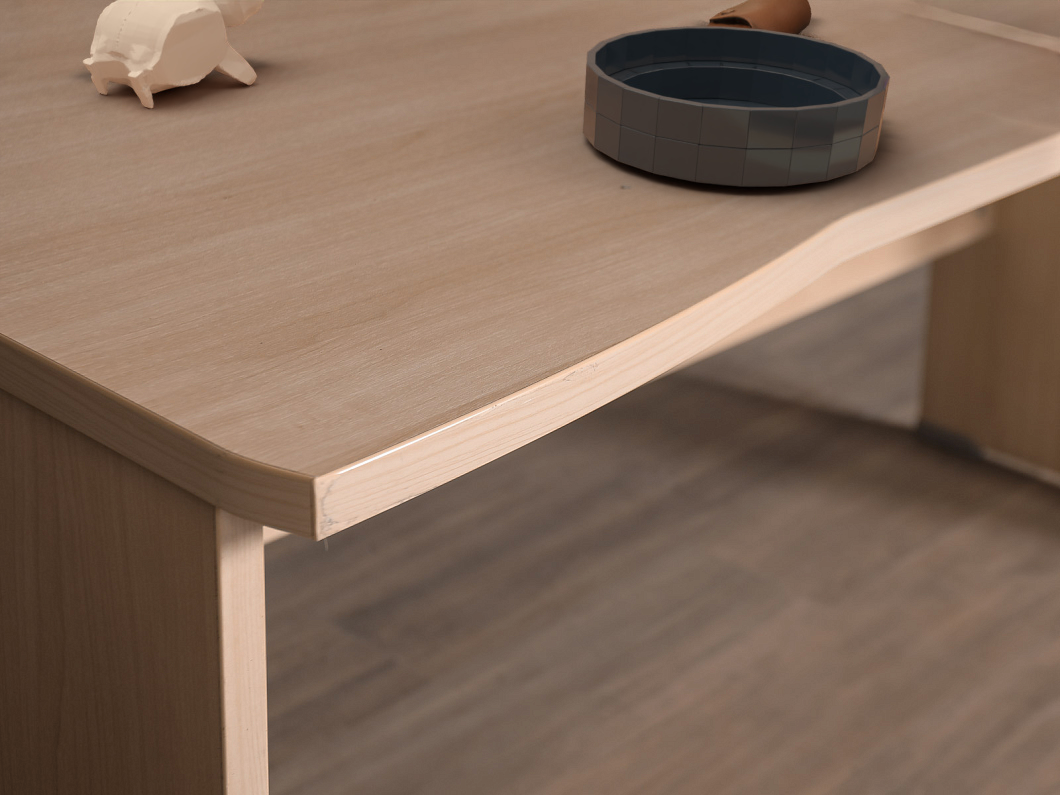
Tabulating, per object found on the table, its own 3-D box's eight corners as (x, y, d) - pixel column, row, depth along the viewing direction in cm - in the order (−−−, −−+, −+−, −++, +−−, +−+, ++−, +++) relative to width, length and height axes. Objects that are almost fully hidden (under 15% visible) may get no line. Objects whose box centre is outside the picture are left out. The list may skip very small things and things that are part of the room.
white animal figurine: (181, 148, 90) (309, 35, 98) (132, 49, 84) (272, -64, 91) (105, 124, 95) (234, 17, 102) (53, 28, 88) (193, -79, 95)
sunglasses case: (719, 17, 115) (762, -43, 111) (778, 64, 115) (823, 6, 111) (661, 65, 100) (709, -2, 96) (728, 119, 100) (779, 54, 96)
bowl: (936, 156, 85) (952, 76, 82) (728, 220, 74) (739, 131, 71) (725, 83, 98) (733, 13, 95) (523, 128, 87) (525, 51, 84)
